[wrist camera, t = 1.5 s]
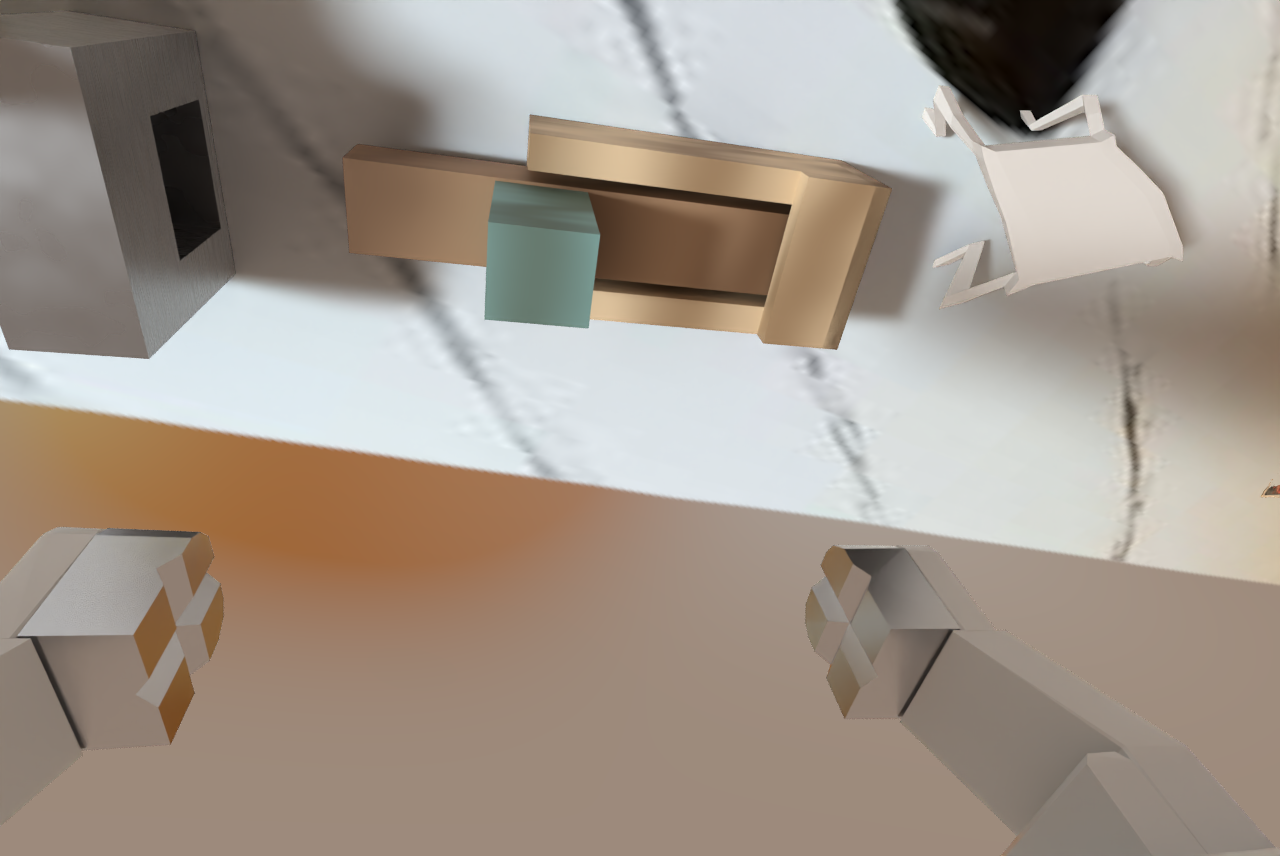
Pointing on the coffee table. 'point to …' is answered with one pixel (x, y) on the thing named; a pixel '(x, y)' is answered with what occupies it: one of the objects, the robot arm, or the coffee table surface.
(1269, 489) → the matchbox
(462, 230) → the slide bar
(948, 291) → the origami figure
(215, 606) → the robot arm
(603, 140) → the guide channel
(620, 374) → the coffee table surface
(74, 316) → the socket block
